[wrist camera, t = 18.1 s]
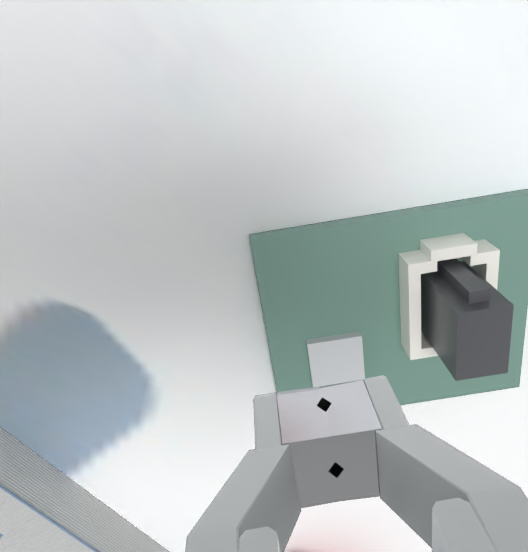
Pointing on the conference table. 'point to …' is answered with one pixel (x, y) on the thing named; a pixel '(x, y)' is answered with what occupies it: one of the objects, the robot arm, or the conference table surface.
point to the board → (386, 293)
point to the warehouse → (56, 510)
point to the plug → (466, 320)
